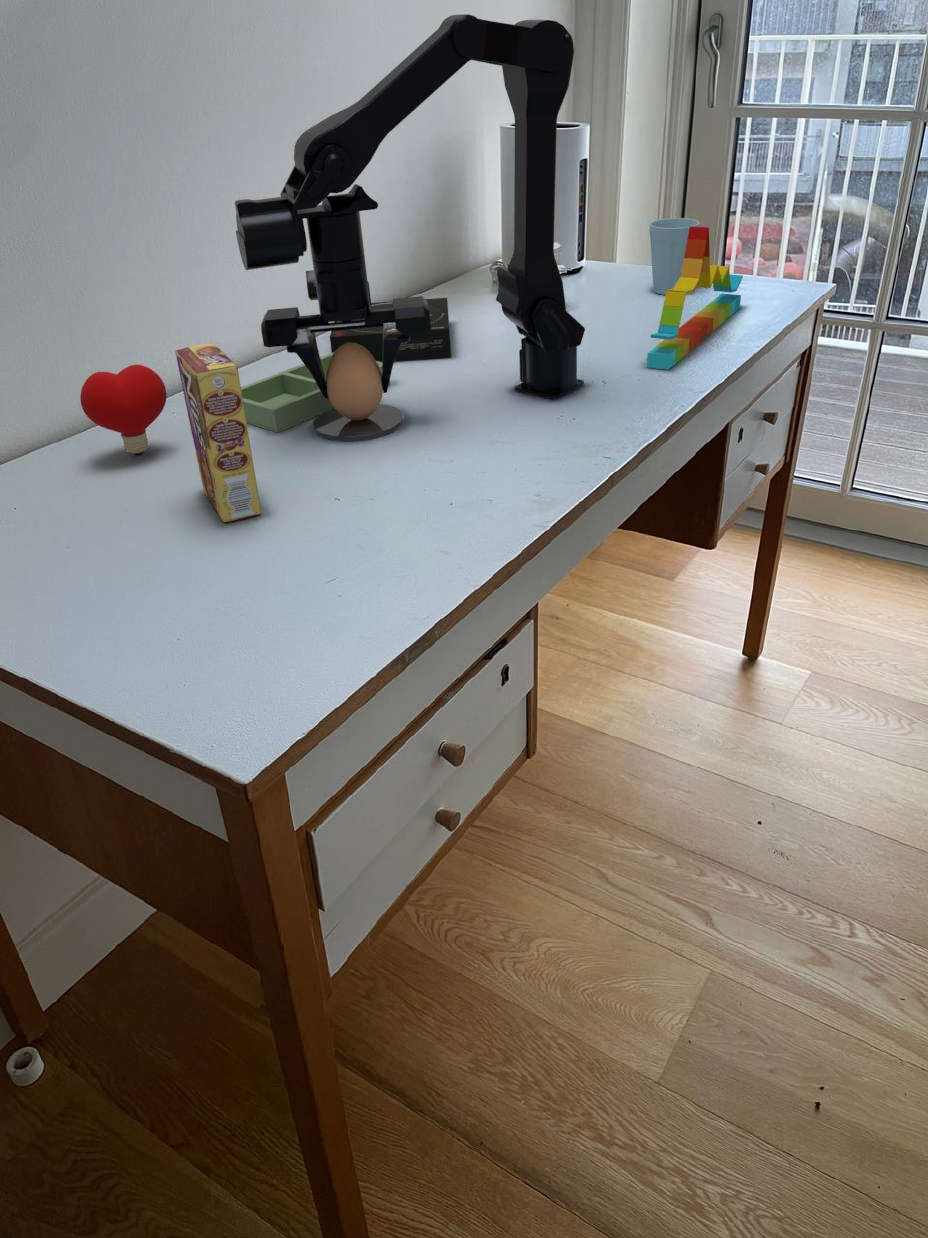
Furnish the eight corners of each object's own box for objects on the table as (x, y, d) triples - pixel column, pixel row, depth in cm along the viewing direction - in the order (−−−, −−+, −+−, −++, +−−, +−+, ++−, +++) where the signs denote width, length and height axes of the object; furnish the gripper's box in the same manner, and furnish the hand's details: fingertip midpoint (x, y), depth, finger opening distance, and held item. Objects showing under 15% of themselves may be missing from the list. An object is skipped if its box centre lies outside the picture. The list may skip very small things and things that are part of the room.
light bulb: (103, 474, 109) (79, 387, 103) (92, 453, 114) (68, 370, 109) (186, 454, 112) (166, 369, 107) (171, 435, 117) (152, 353, 112)
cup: (637, 293, 158) (640, 225, 152) (662, 282, 163) (665, 216, 157) (678, 299, 154) (683, 229, 148) (703, 288, 158) (708, 220, 153)
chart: (719, 305, 149) (727, 200, 141) (739, 307, 148) (749, 201, 140) (644, 367, 128) (649, 247, 120) (668, 370, 126) (675, 248, 118)
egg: (320, 424, 116) (308, 348, 111) (353, 405, 121) (344, 331, 116) (364, 432, 113) (355, 355, 108) (397, 413, 117) (389, 337, 112)
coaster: (422, 418, 117) (421, 413, 117) (358, 448, 111) (357, 443, 110) (359, 401, 123) (358, 397, 123) (295, 429, 117) (294, 424, 116)
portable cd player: (449, 322, 150) (447, 296, 148) (451, 357, 136) (449, 328, 134) (342, 330, 151) (339, 303, 148) (333, 365, 136) (329, 337, 134)
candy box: (266, 514, 98) (238, 364, 90) (224, 524, 96) (191, 373, 88) (242, 482, 105) (214, 340, 96) (203, 492, 103) (171, 348, 95)
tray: (390, 384, 128) (388, 363, 127) (277, 432, 116) (273, 410, 115) (337, 371, 134) (334, 351, 132) (224, 416, 122) (220, 394, 120)
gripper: (420, 234, 114) (431, 365, 122) (259, 248, 113) (281, 379, 121) (424, 255, 104) (436, 396, 113) (249, 270, 104) (274, 411, 112)
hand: (356, 394), depth 115 cm, fingers closed on egg, 6 cm apart
